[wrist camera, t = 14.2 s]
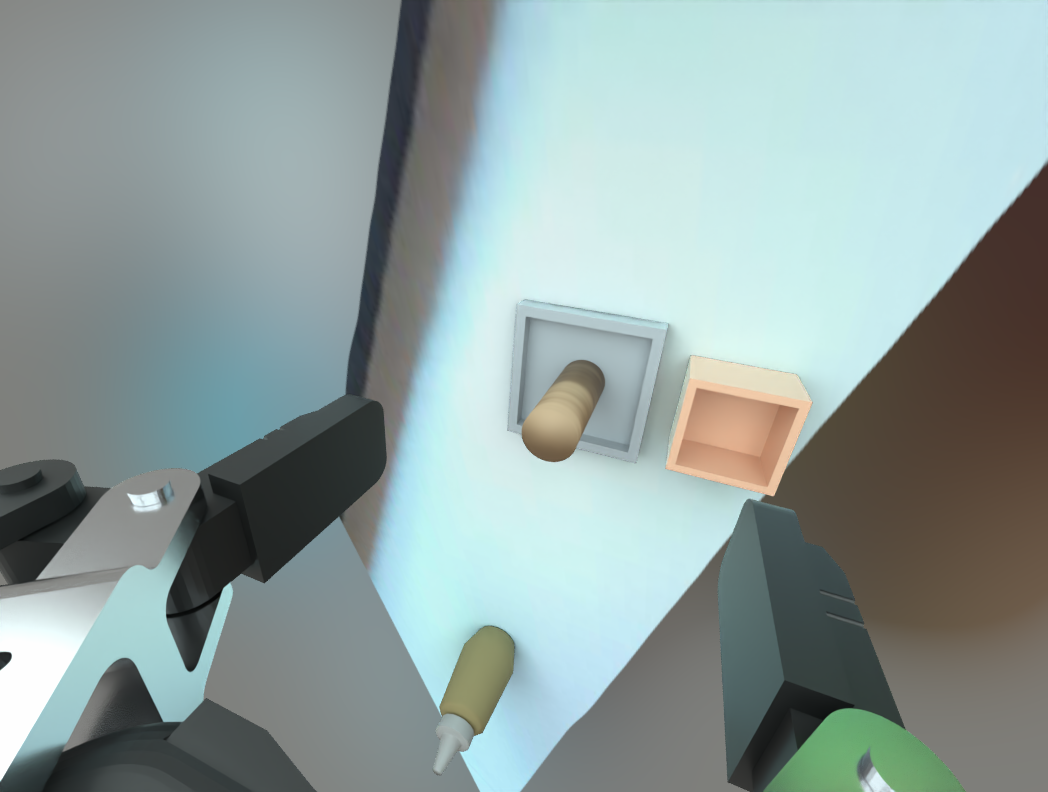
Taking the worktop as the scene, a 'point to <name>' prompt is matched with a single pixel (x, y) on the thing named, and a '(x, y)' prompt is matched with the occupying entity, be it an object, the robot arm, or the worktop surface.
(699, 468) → the terracotta box
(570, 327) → the slate tray
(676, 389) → the worktop surface
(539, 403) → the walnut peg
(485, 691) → the squeeze bottle
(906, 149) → the worktop surface
